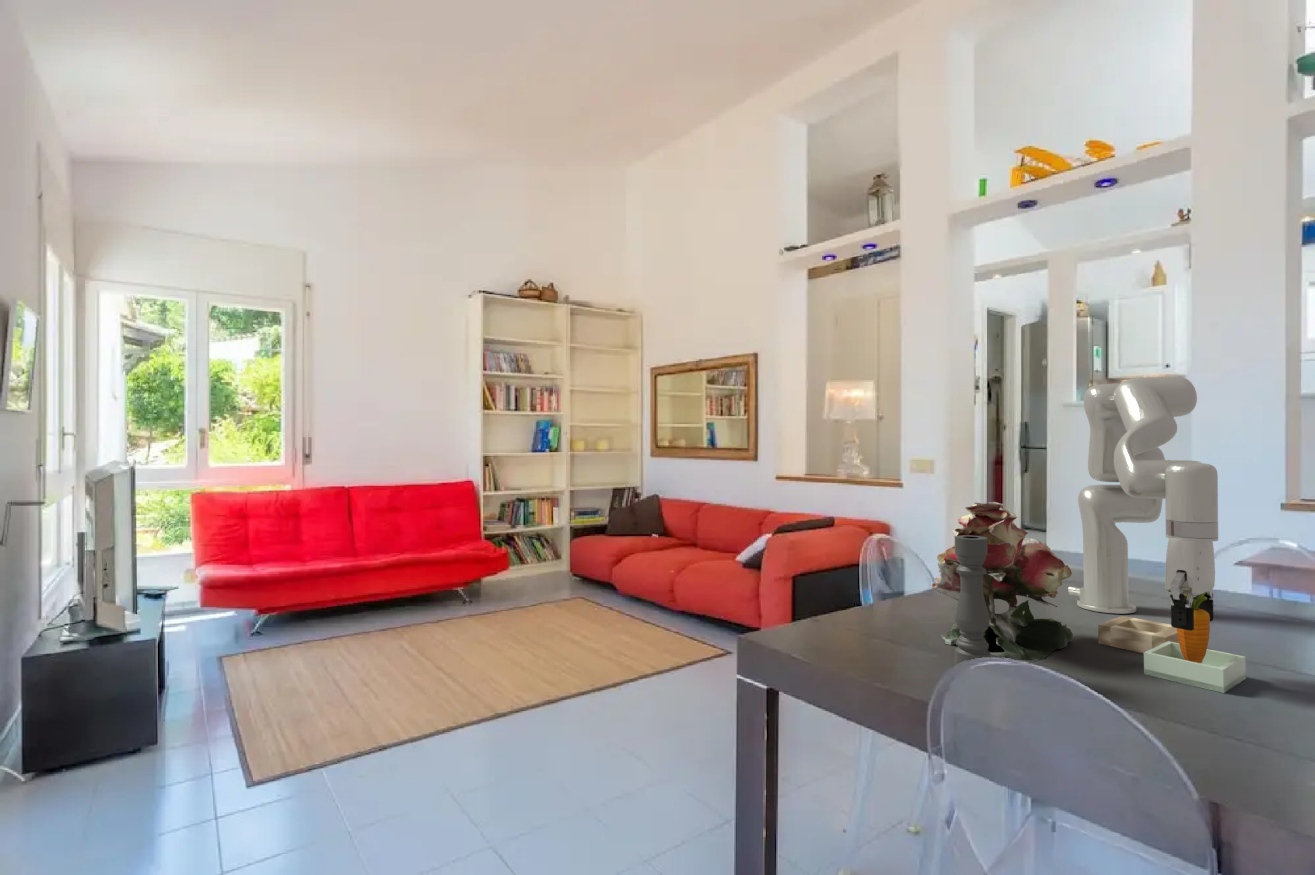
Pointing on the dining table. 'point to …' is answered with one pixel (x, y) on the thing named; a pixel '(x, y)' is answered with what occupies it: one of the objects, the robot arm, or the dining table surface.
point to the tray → (1195, 667)
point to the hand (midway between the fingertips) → (1192, 624)
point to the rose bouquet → (1009, 584)
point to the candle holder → (971, 598)
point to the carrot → (1195, 634)
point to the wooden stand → (1135, 634)
